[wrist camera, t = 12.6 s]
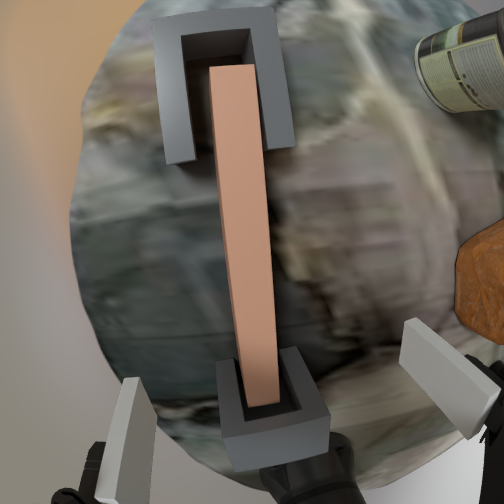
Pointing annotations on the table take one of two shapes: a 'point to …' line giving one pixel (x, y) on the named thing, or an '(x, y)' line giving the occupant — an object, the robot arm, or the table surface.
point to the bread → (482, 283)
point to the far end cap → (273, 417)
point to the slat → (245, 226)
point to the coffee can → (464, 65)
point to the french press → (498, 369)
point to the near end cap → (216, 45)
